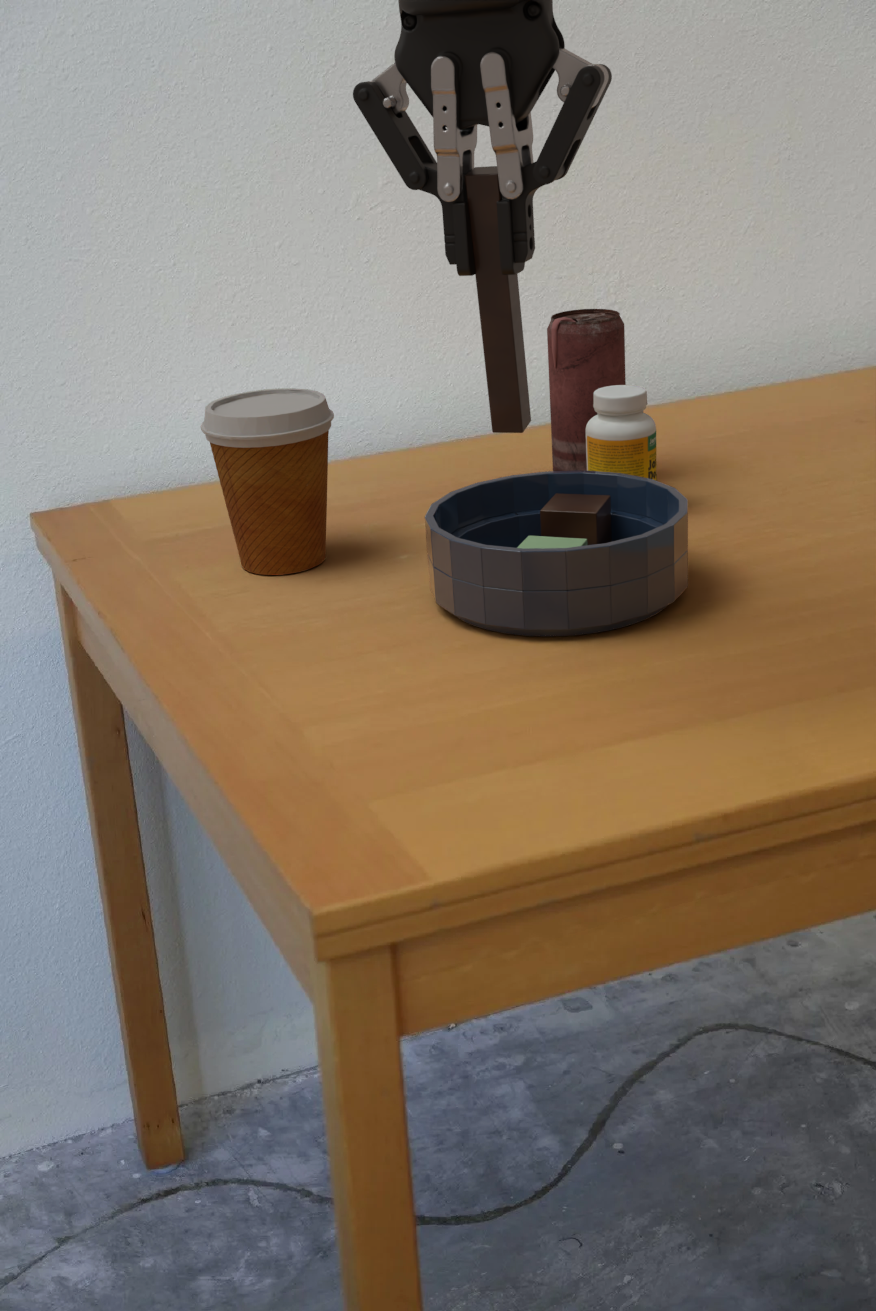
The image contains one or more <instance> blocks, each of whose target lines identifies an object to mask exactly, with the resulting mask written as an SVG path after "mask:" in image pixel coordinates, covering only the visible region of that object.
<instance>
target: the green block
mask: <svg viewBox="0 0 876 1311" xmlns="http://www.w3.org/2000/svg"><path fill="white" fill-rule="evenodd" d="M578 546H587V539H581V538H563V537H545V536H528V537H527V538H526V539H525V540H524V541H523V542H522V543H521V544H520V545H519V546H518V547H517V548H523V549H529V548H570V547H578Z"/></svg>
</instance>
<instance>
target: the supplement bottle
mask: <svg viewBox="0 0 876 1311" xmlns="http://www.w3.org/2000/svg"><path fill="white" fill-rule="evenodd" d="M593 400H594V403H593V407H594V410H595V411H596V412H597V415H595V416H594V417H592V418H591V419H590V420H589V421H588V423H587V425H586V460H587V471H599V472H613V473H623V474H628V475H634V476H639V477H644V478H649V479H653V480H656V481H658V479H657V478H658V476H657V463H658V462H657V425H656V422H655V420H654V418H653V417H652V416H651V415H649V414H648V413H645V412H644V411H645V410H646V409H647V406H648V390H647V389H646V387H644V386H640V385H635V384H626V385H613V386H607V387H602V388H599V389H597V390H595V391H594V394H593Z"/></svg>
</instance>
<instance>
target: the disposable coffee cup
mask: <svg viewBox="0 0 876 1311" xmlns="http://www.w3.org/2000/svg"><path fill="white" fill-rule="evenodd" d="M334 418H335V413H334V411H333V410H332V409H330V406H329V404H328V401H327V398H326V395H325V394H324V393H322V392H320V391H317V390H313V389H307V388H291V387H289V388H287V387H286V388H285V387H284V388H280V387H279V388H278V387H277V388H266V389H265V388H264V389H256V390H250V391H243V392H238V393H234V394H230V395H226V396H223V397H219V398H217V399H214V400H212V401H210V402H209V403H208V404H207V405H205V409H204V418H203V422H201V424H200V430H201V431H202V433H203V434H204V436H205V439H206V440H207V442H209V446H210V448H211V453H212V457H213V460H214V462H215V463H214V464H215V468H216V472H217V476H218V480H219V484H220V487H221V491H222V495H223V499H224V502H225V507H226V510H227V516H228V518H229V521H230V526H231V529H232V533H233V536H234V542H235V544H236V548H237V553H238V556H239V561H240V565H241V568H242V569H243V570H245V571H247V572H249V573H253V574H256V575H263V576H283V575H290V574H296V573H300V572H305V571H307V570H310V569H313V568H315V567H318V566H319V565H321V564H322V563H323V562H324V561H326V558H327V513H328V512H327V511H328V476H329V473H328V472H329V468H328V467H329V433H330V429H331V427H332V421H333V419H334Z"/></svg>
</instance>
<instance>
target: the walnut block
mask: <svg viewBox="0 0 876 1311" xmlns="http://www.w3.org/2000/svg"><path fill="white" fill-rule="evenodd" d="M540 520H541V536H545V537H563V538H581V539H587V545H595V544H603V543H608V542H612V539H611V497H610V496H609V495H584V494H558V493H556V494H555V495H554V496H553V497H552V498H551V499H550V500H549V501H548V503H547V504H546V505H545V506H544V507H543V508H542V509H541V510H540Z"/></svg>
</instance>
